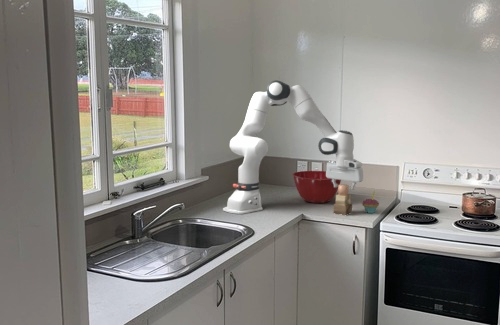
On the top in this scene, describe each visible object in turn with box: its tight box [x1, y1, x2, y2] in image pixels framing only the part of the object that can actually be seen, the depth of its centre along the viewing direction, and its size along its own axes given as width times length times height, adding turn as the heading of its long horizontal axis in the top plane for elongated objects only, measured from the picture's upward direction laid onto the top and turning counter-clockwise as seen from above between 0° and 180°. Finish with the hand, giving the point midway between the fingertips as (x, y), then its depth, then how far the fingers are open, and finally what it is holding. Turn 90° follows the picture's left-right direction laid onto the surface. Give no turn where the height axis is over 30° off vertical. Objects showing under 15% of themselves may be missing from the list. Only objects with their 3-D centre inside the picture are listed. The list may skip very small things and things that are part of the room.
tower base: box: [333, 203, 353, 216], centre depth 269 cm, size 7×7×5 cm
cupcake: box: [361, 190, 380, 214], centre depth 271 cm, size 9×8×12 cm
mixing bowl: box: [292, 170, 342, 204], centre depth 297 cm, size 28×28×15 cm
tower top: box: [335, 193, 352, 206], centre depth 268 cm, size 6×6×5 cm
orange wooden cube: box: [337, 183, 350, 196], centre depth 268 cm, size 5×5×5 cm
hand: (343, 188), depth 268 cm, fingers open, 8 cm apart
